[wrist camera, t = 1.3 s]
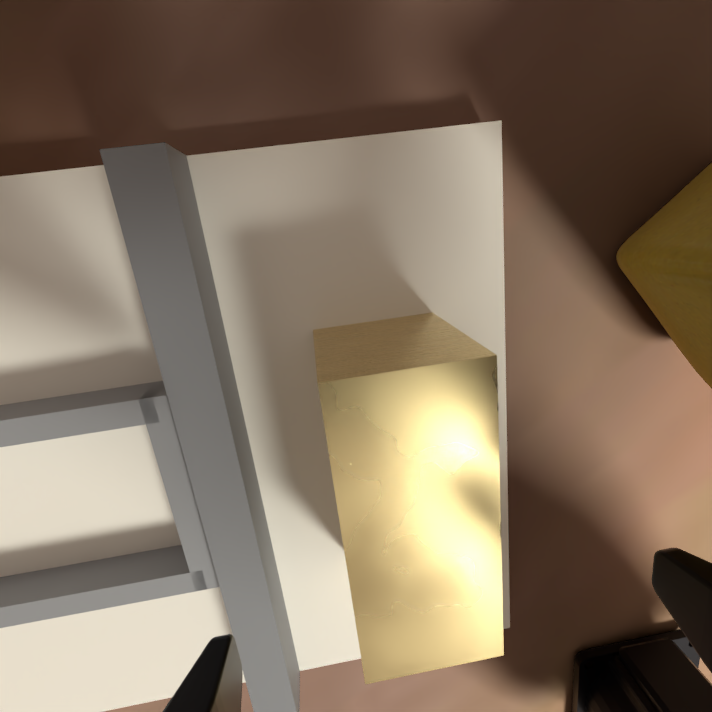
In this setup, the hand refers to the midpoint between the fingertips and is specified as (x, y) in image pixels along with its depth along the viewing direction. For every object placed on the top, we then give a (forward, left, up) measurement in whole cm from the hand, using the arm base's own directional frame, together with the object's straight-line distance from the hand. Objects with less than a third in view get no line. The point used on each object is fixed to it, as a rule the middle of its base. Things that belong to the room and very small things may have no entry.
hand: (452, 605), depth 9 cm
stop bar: (0, 0, -7) cm, 7 cm away
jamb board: (0, +7, -8) cm, 11 cm away
